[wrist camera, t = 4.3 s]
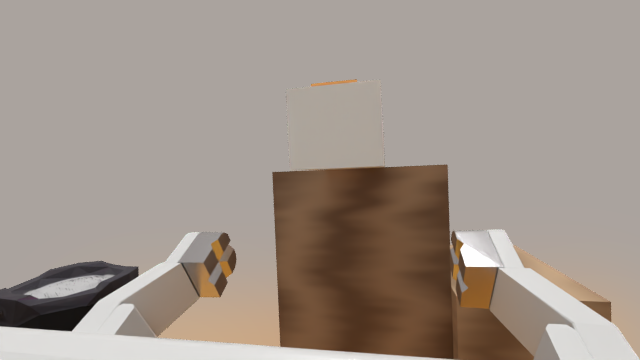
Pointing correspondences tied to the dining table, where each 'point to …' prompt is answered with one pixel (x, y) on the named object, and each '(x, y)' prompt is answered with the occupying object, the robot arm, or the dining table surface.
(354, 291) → the stand
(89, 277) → the portable speaker
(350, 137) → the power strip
